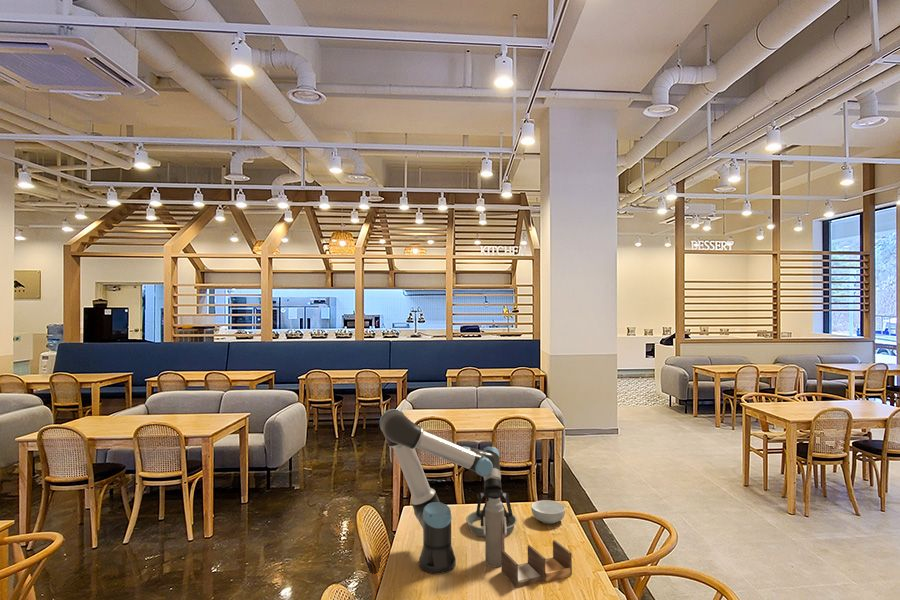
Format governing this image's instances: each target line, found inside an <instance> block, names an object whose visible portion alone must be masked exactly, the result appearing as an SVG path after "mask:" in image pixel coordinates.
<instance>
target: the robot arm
mask: <svg viewBox="0 0 900 600" xmlns="http://www.w3.org/2000/svg"><path fill="white" fill-rule="evenodd" d="M379 428H380V430H381V432H382V433H383V434H382V435H383V436H384V439H385V442H386V443H387V446H388V447H389V448H392V449H393V451H394V455H395V456H396V459H397V461H398V462H397V463H398V464H399V467H400V469H401V471H402V474H403V476H404V477H403V478H405V481H406V484H407V486H408V489H409V492H410V495H411V498H410V503H411V506H412V508H413V513H414V516H415V518H416V519H417V521H418V523H419V525H420V526H421V528H422V532H423V533H422V537H423V538H422V539H423V542H422V543H423V545H422V548H421V552H420V554H419V555H420V556H419V558H418V559H419V560H418V564H419V565H418V566H419V568H420V570H422V571H424V572H425V573H428V574H433V575H434V574H435V575H439V574H445V573H448V572H451V571H452V570H453V569H455V567H456V563H457V562H456V560H457V559H456V556H455V553H454V549H453V545H452V518H453V517H452V511H451V507H450V506H449V505H448V504H445V503H443V502H440V499H439V496H438V495H437V492H436V490H435V488H432V487H430V484H429V482H428V479H427V477H426V473H425V472H424V469H423V466H422V463H421V461H420V458H419V456H418V454H417V451H416V449H418V450H420V451H423V452H425V453H427V454H431V455H433V456H436V457H438V458H440V459H443V460H445V461H448V462H450V463H453V464H454V465H458V466H459V467H460V466H461V467H463V468H465V469H468V470H469V471H472V472H475V473H476V474H477V476H480V477H482V478H483V481H484V482H483V487H484V488H483V489H484V490H483V492H477V505H476V517H477V518H478V517H479V518H480V520H479V521H480V527H483V528H484V535H486V527H485V517H484V515H485V507H486V506H487V505H486V504H487V501H489V497H488V495H489V494H490V493H498V494H500V501H501V502H502V498H503V499H505V503H506V504H505V505H506V507H505V505H504V503H503V502H502V504H503V506H502V507H504V516H505V517H504V532H505V535H506V536H508V535H507V527H506V526H509V518H512V515H514V514H513V508H512V507H511V505H512V504H511V502H510V493H509V492H504V491H502V490H503V489H502V481H501V480H502V475H501V474H502V473H501V464H500V463H501V460H500V451H499V450H498V448H497V447H495V446H486V447H484V448H483V450H482V449H478V448H474V447H470V446H460V445H458V444H456V443H455V442H452V441H449V440H447V439H445V438H442V437H440V436H438V435H435V434H434V433H430V432H427V431H425V430H424V429H423V427H422V426H420V425H418V424H416V423H414V422H413V421H411V420H410V419H409V418H408V417H407V416H406V415H405V414H404V412H403V411H401V410H400V409H397V408H396V409H395V408H392V409H387V410H386V411H385V412H383V414H382V415H381V416H380V419H379ZM483 497H484V498H485V502H484V505H483V508H482V509H481V504H482V499H483ZM506 508H507V509H506ZM480 510H482V512H481V514H480V513H479V512H480ZM507 512H508V513H509V514H508V513H507Z"/></svg>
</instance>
